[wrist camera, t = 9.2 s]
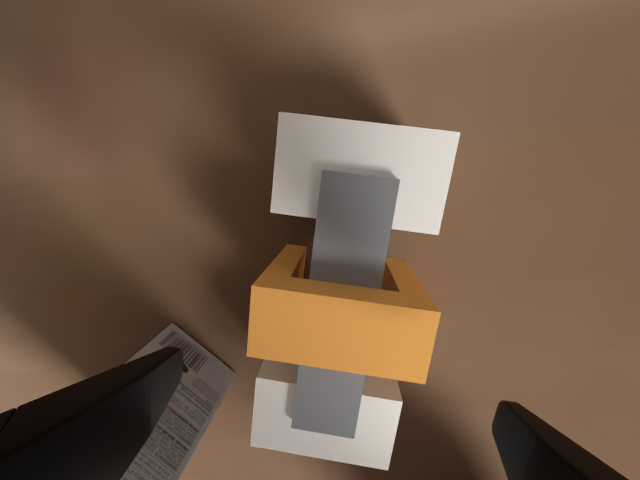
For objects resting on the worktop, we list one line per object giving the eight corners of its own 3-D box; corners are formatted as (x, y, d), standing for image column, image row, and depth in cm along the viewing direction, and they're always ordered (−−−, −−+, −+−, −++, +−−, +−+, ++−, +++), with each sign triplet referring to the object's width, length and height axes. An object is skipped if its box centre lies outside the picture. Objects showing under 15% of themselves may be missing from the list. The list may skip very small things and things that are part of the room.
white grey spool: (302, 134, 18) (276, 108, 11) (419, 148, 18) (465, 130, 11) (278, 366, 22) (247, 454, 15) (375, 382, 21) (389, 480, 14)
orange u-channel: (404, 259, 18) (441, 312, 11) (395, 306, 18) (425, 384, 11) (287, 243, 18) (251, 285, 11) (282, 290, 19) (246, 356, 12)
